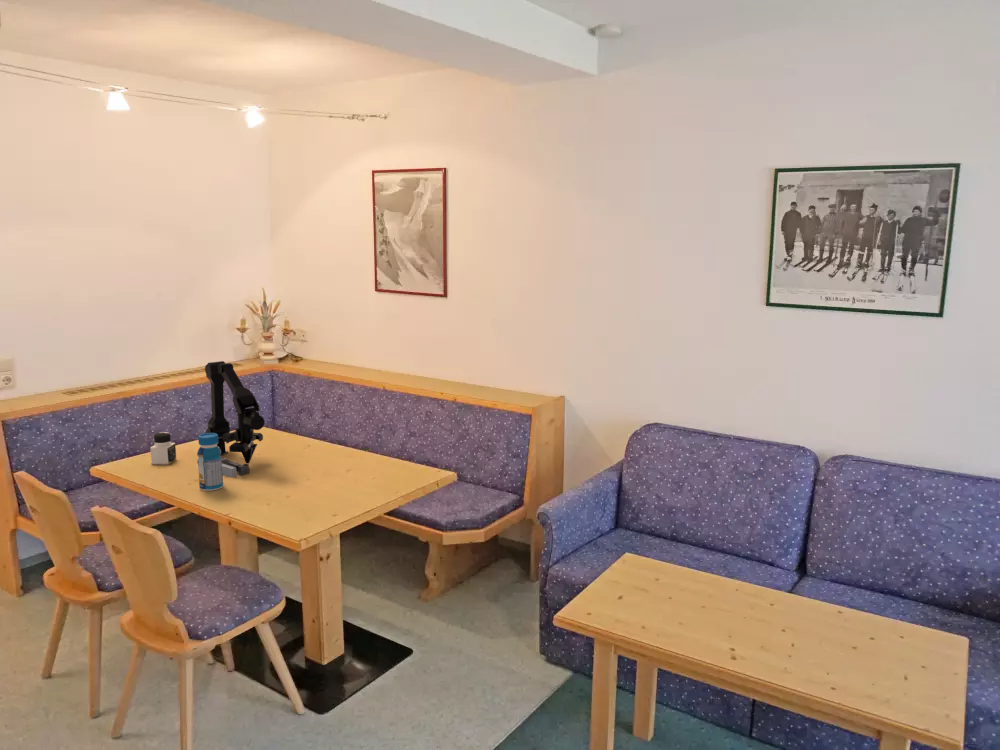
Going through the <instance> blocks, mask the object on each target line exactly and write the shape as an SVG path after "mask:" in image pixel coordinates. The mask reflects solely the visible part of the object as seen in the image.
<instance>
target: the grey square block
mask: <svg viewBox="0 0 1000 750" xmlns="http://www.w3.org/2000/svg"><path fill="white" fill-rule="evenodd" d="M248 474H250V466H249V463H243V464H242V465H239V466H238V472H237V475H239V476H245V475H248Z"/></svg>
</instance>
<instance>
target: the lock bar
mask: <svg viewBox="0 0 1000 750" xmlns="http://www.w3.org/2000/svg"><path fill="white" fill-rule="evenodd" d="M222 464H226V465H229V466H232V467H235V468H236V473H238V466H239V465H243V464H242V463H239V462H236V461H233V460H231V459H228V457H225V456H224V457H222Z"/></svg>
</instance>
